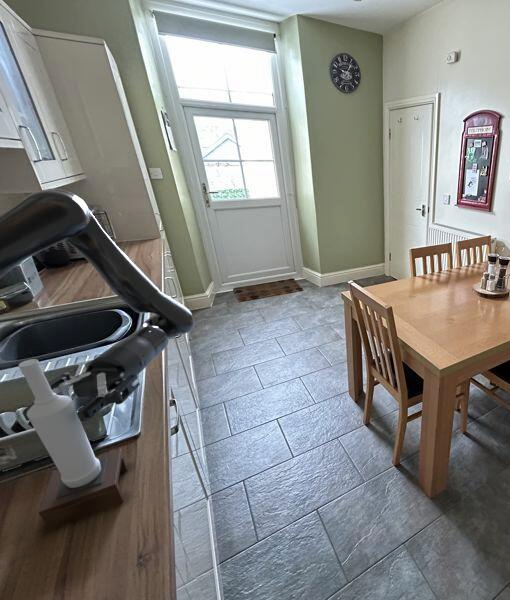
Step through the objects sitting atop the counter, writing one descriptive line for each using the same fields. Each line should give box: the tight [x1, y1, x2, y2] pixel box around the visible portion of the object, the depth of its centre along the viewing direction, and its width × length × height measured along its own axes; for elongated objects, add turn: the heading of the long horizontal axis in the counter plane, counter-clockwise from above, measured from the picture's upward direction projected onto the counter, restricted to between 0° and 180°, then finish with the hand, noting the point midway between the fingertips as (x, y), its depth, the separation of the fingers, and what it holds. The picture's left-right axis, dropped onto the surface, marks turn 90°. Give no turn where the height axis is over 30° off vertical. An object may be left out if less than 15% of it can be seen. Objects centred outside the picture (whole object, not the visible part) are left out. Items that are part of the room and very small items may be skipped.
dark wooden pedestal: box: [37, 448, 129, 531], centre depth 61 cm, size 10×9×5 cm
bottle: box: [18, 358, 101, 488], centre depth 55 cm, size 5×5×25 cm
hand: (54, 417), depth 54 cm, fingers open, 8 cm apart
